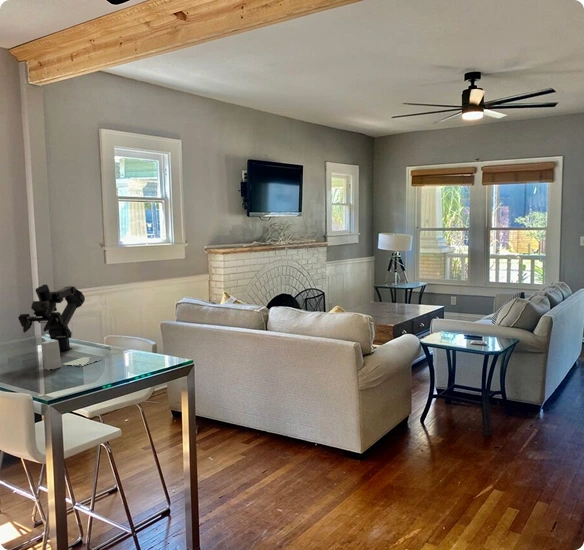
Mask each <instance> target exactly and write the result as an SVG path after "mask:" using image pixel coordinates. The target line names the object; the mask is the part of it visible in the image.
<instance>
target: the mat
mask: <svg viewBox="0 0 584 550" xmlns="http://www.w3.org/2000/svg"><path fill="white" fill-rule="evenodd" d="M89 358H90V357H87V356H83V357H81V358H77V359H74V360H71V361H68V362H65V363H64V362H63V363H62V366H67V365H72V366H71V367H74V366H73V365H79V364H81V365H82V366H83V367H85V366H84V364H86V363H87V362H88V361H89Z"/></svg>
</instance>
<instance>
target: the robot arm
mask: <svg viewBox="0 0 584 550" xmlns="http://www.w3.org/2000/svg"><path fill="white" fill-rule="evenodd" d="M50 290H51V289H50V288H49V286H48V284H42V285H41V286H38V287H37V288H35V293H36V295H37V298H38V300H36V301H35V300H33V301H32V303H31V307H30V308H31V310H32V311H33V316H31V315H30V313H22V314H21V313H20V314H19V316H18V320H19V323H20V325H21V327H22V329H23V330H22V331H23V334H24V333H27V332H28V331H29V330H30V329H31V328H32V326H33V322H37V323H39V324H45V325H44V328H43V332H47V331H48V334H49V338H50V341H51V340H58V342H59V350H60V353H64V352H66V351H70V350H72V349H73V348H72V347H71V345H70V339H71V338H72V335H73V333H72V331H71V329H70V328H69V323H70V321H71V319H72V318H73V316H74V313H75V311H76V310H77V309H78V308H80V307H82V306H83V304H84V303H85V295H84V294H83V292H82V291H80V290H79V289H77V287H76V286H73V285H69V286H64V287H62V288H61V289H58V290H56V291H50ZM64 299H65V301H66V303H67V304H66V306H65V307H64V309H63V311H62V313H61V312H59V311H58V308H57V304H61V303H62V302H64Z"/></svg>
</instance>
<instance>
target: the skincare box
mask: <svg viewBox="0 0 584 550" xmlns="http://www.w3.org/2000/svg"><path fill="white" fill-rule="evenodd" d="M41 351H42V352H41V353H42V359H43V365H44V370H46V369H47V370H46V371H51V370H50V369H52V370H54V369H58V368H62V366H63V365H62V359H61V352H60V350H59V342H58V340H54V339H52V340H51V339H50V340H45V341H43V342H41Z"/></svg>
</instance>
